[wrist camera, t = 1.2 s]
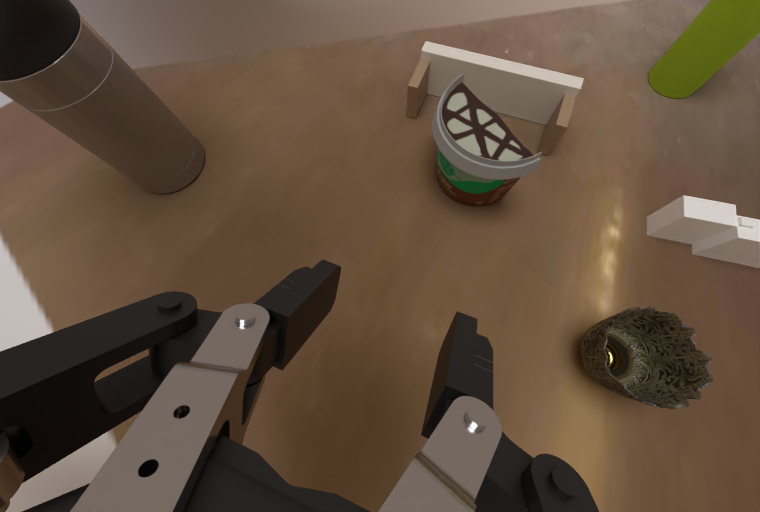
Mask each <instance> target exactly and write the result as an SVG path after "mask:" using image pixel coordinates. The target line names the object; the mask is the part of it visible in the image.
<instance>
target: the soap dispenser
mask: <svg viewBox="0 0 760 512" xmlns="http://www.w3.org/2000/svg"><path fill="white" fill-rule="evenodd" d="M759 33H760V0H711V1H710V2H709V3H708V4H707V6H706V7H705V8H704V9H703V10H702V11H701V13H700V14H699V15H698V16H697V17H696V18H695V20H694V21H693V22H692V23H691V24H690V25H689V27H688V28H687V29H686V30H685V31H684V32H683V33H682V35H681V36H680V37H679V38H678V39H677V40H676V42H675V43H674V44H673V45H672V46H671V47H670V49H669V50H668V51H667V52H666V53H665V54H664V55H663V57H662V58H661V59H660V60H659V61H658V62H657V64H656V65H655V66H654V67H653V68H652V69H651V71H650V72H649V75H648V80H649V83H650V85H651V86H652V88H653V89H654V90H655V91H657V92H658V93H660V94H661V95H664V96H666V97H670V98H685V97H688V96H690V95H692V94H693V93H694V92H695V91H696V90H697V89H698V88H699V87H701V86H702V85H703V84H704V83H705V82H706V81H707V80H708V79H709V78H710V77H712V76H713V75H714V74H715V73H716V72H717V71H718V70H719V69H720V68H721V67H723V66H724V65H725V64H726V63H727V62H728V61H729V60H730V59H731V58H732V57H733V56H735V55H736V54H737V53H738V52H739V51H740V50H741V49H742V48H743V47H744V46H746V45H747V44H748V43H749V42H750V41H751V40H752V39H753V38H754V37H755V36H756V35H758V34H759Z"/></svg>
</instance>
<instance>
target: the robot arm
mask: <svg viewBox="0 0 760 512" xmlns="http://www.w3.org/2000/svg"><path fill="white" fill-rule="evenodd" d="M0 91H1V92H2V93H4V94H5V95H7V96H8V97H9V98H11V99H12V100H14V101H15V102H17V103H18V104H20V105H22V106H23V107H25V108H26V109H28V110H29V111H31V112H32V113H34V114H35V115H36V116H38V117H39V118H41V119H42V120H44V121H45V122H47V123H48V124H50V125H51V126H53V127H54V128H56V129H57V130H59V131H60V132H62V133H63V134H65V135H66V136H68V137H69V138H71V139H72V140H74V141H75V142H77V143H78V144H80V145H81V146H82V147H84V148H85V149H87V150H88V151H90V152H91V153H93V154H94V155H96V156H97V157H99V158H100V159H102V160H103V161H105V162H106V163H108V164H109V165H111V166H112V167H114V168H115V169H117V170H118V171H119V172H121V173H122V174H124V175H125V176H127V177H128V178H130V179H131V180H133V181H134V182H136V183H137V184H139V185H140V186H142V187H143V188H145V189H146V190H148V191H150V192H153V193H159V194H165V193H171V192H175V191H177V190H180V189H182V188H184V187H185V186H187V185H188V184H190V183H191V182H192V181H193V180H194V179H195V178H196V177H197V175H198V174H199V173H200V171H201V169H202V167H203V163H204V156H205V154H204V150H203V147H202V145H201V144H200V143H199V142H198V140H197V139H196V138H195V137H194V136H193V135H192V134H191V133H190V132H189V131H188V129H187V128H186V127H185V126H184V125H183V124H182V123H181V122H180V120H179V119H178V118H177V117H176V116H175V115H174V114H173V113H172V112H171V111H170V110H169V108H168V107H167V106H166V105H165V104H164V103H163V102H162V101H161V100H160V99H159V98H158V97H157V95H156V94H155V93H154V92H153V91H152V90H151V89H150V88H149V87H148V86H147V85H146V83H145V82H144V81H143V80H142V79H141V78H140V77H139V76H138V75H137V74H136V73H135V71H134V70H133V69H132V68H131V67H130V66H129V65H128V64H127V63H126V62H125V61H124V60H123V58H121V56H120V55H119V54H118V53H117V52H116V51H115V50H114V49H113V48H112V46H111V45H110V44H109V43H108V42H107V41H106V40H105V39H104V38H103V37H102V36H101V35H100V34H99V33H98V31H97V30H96V29H95V28H94V27H93V26H92V25H91V24H90V23H89V22H88V21H87V19H86V18H85V17H84V16H83V15H82V14H81V13H80V12H79V11H78V10H77V9H76V8H75V7H74V5H73V4H71V2H70V1H69V0H0ZM340 273H341V267H340V266H338V265H336V264H333V263H330V262H328V261H325V260H321V261H320V262H319V263H318V264H317V265H316V266H314V267H313V268H312V269H311V268H308V267H304V268H301V269H298V270H295V271H293V272H292V273H291V274H289V275H288V276H287V277H286V279H283V280H282V281H281V282H280V283H279V284H277V285H276V286H275V287H274V288H272V289H271V290H270V291H269V292H267V293H266V294H265V295H264V296H263V297H261V298H260V299H259V300H258V301H256V302H255V303H254V304H250V303H245V304H238V305H235V306H232V307H230V308H228V309H227V310H225V311H224V312H223V313H220V312H213V311H206V310H200V309H197V301H196V299H195V298H194V297H193V296H192V295H190V294H188V293H184V292H166V293H161V294H158V295H155V296H152V297H150V298H147V299H144V300H141V301H139V302H136V303H133V304H130V305H128V306H125V307H122V308H119V309H117V310H114V311H111V312H108V313H106V314H103V315H100V316H97V317H95V318H92V319H89V320H86V321H84V322H81V323H78V324H75V325H73V326H70V327H67V328H64V329H62V330H59V331H56V332H53V333H51V334H48V335H46V336H42V337H40V338H37V339H34V340H31V341H29V342H26V343H23V344H20V345H18V346H15V347H12V348H10V349H7V350H4V351H1V352H0V512H5V511H6V510H7V508H8V507H9V504H10V499H11V498H12V497H13V495H14V494H15V493H16V491H17V490H18V489H19V487H20V486H21V484H22V483H23V482H25V481H27V480H28V479H30V478H32V477H33V476H35V475H37V474H38V473H40V472H42V471H43V470H44V469H46V468H48V467H50V466H51V465H53V464H55V463H56V462H58V461H60V460H61V459H63V458H65V457H66V456H68V455H69V454H71V453H73V452H74V451H76V450H78V449H79V448H81V447H83V446H84V445H86V444H88V443H89V442H91V441H93V440H94V439H96V438H98V437H99V436H101V435H102V434H104V433H106V432H107V431H109V430H111V429H112V428H114V427H116V426H117V425H119V424H121V423H122V422H124V421H126V420H127V419H129V418H131V417H132V416H134V415H135V414H137V413H139V412H140V411H142V412H141V413H140V414H139V416H138V417H137V419H136V420H135V421H134V423H133V424H132V426H131V427H130V429H129V430H128V431H127V433H126V434H125V436H124V437H123V438H122V440H121V441H120V443H119V444H118V445H117V447H116V448H115V450H114V451H113V452H112V454H111V455H110V457H109V458H108V459H107V461H106V462H105V464H104V465H103V467H102V468H101V469H100V471H99V472H98V473H97V475H96V476H95V478H94V479H93V481H92V482H91V483H90V484H87V485H85V486H83V487H80V488H78V489H76V490H73V491H71V492H68V493H66V494H63V495H61V496H59V497H56V498H54V499H52V500H49V501H47V502H44V503H42V504H39V505H37V506H35V507H32V508H30V509H27V510H25V511H23V512H369V511H367V510H366V509H364V508H362V507H360V506H358V505H356V504H354V503H352V502H350V501H348V500H346V499H344V498H343V497H341V496H339V495H337V494H333V493H328V492H322V491H317V490H312V489H306V488H301V487H295V486H291V485H289V484H288V483H287V482H286V481H285V480H284V479H283V478H282V477H281V476H280V475H279V474H278V473H277V472H276V471H275V470H274V469H273V468H272V467H271V466H270V465H269V464H268V463H267V462H266V461H265V460H264V459H263V458H262V457H261V456H260V455H259V454H258V453H256V452H254V451H252V450H250V449H249V448H247V447H245V446H243V445H242V442H243V438H244V435H245V432H246V429H247V426H248V424H249V421H250V418H251V416H252V413H253V410H254V408H255V405H256V402H257V400H258V397H259V394H260V392H261V389H262V387H263V384H264V381H265V374H266V373H267V372H268V371H269V370H270V368H271V367H272V366H274V367H276V368H278V369H280V370H283V369H284V368H285V367H286V365H287V364H288V363H289V362H290V360H291V359H292V358H293V357H294V355H295V354H296V353H297V352H298V350H299V349H300V348H301V347H302V345H303V344H304V343H305V342H306V340H307V339H308V338H309V337H310V335H311V334H312V333H313V332H314V331H315V329H316V328H317V327H318V326H319V324H320V323H321V322H322V321H323V319H324V318H325V317H326V316H327V314H328V313H329V312H330V310H331V308H332V306H333V304H334V301H335V298H336V293H337V288H338V283H339V278H340ZM476 332H477V319H476V318H473V317H471V316H468V315H466V314H463V313H460V312H457V313H456V315H455V317H454V319H453V321H452V323H451V326H450V328H449V330H448V332H447V335H446V337H445V339H444V341H443V344H442V347H441V349H440V352H439V356H438V360H437V365H436V369H435V374H434V378H433V383H432V387H431V392H430V396H429V401H428V406H427V410H426V415H425V419H424V424H423V428H422V433H421V435H422V436H424V437H426V438H428V441H427V442H426V444H425V445H424V447H423V448H422V450H421V451H420V453H419V454H417V455H416V456H415V457H414V459H413V460H412V462H411V463H410V465H409V466H408V468H407V469H406V471H405V472H404V474H403V475H402V477H401V478H400V480H399V481H398V483H397V484H396V486H395V487H394V489H393V490H392V492H391V493H390V495H389V496H388V498H387V499H386V501H385V502H384V504H383V505H382V507H381V508H380V510H379V511H378V512H599V510H598V508H597V506H596V504H595V502H594V500H593V497H592V495H591V493H590V491H589V489H588V487H587V485H586V484H585V482H584V480H583V479H582V478H581V476H580V475H579V474H578V473H577V472H576V471H575V470H574V469H573V468H572V467H571V466H570V465H569V464H568V463H566V462H565V461H563V460H562V459H560V458H558V457H556V456H553V455H550V454H540V455H537V456H536V457H535V458H533V457H531V456H530V455H529V454H527V453H526V452H525V451H523V450H522V449H521V448H519V447H518V446H517V445H516V444H514V443H513V442H512V441H511V440H510V439H509V438H508V437H507V436H506V435H505V434H504V433H503V432H502V427H501V423H500V421H499V419H498V417H497V415H496V414H495V412H494V411H493V373H492V372H493V349H492V347H491V345H490V342H489V340H488V338H487V337H484V336H482V335H479V334H476ZM146 349H148V350H149V355H148V356H146V357H144V358H142V359H140V360H138V361H136V362H134V363H132V364H130V365H128V366H126V367H124V368H122V369H120V370H118V371H116V372H114V373H112V374H110V375H108V376H106V377H104V378H102V379H100V380H98V381H95V382H94V380H95V378H96V377H97V376H98V375H99V374H100V373H101V372H102V371H104V370H105V369H107V368H109V367H111V366H113V365H115V364H117V363H119V362H121V361H123V360H125V359H127V358H130V357H132V356H134V355H136V354H138V353H140V352H142V351H144V350H146Z"/></svg>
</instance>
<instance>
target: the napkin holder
mask: <svg viewBox="0 0 760 512" xmlns="http://www.w3.org/2000/svg"><path fill="white" fill-rule="evenodd" d="M647 236H652V237H657V238H662V239H667V240H672V241H677V242H682V243H687V244H692V254H694V255H698V256H703V257H708V258H713V259H718V260H723V261H727V262H732V263H737V264H742V265H747V266H751V267H756V268H760V220H758V219H753V218H748V217H742V216H737V215H736V205H733V204H728V203H722V202H717V201H712V200H706V199H701V198H695V197H690V196H685V195H683V196H682V197H680V198H678V199H677V200H675V201H673V202H671V203H670V204H668V205H666V206H665V207H663V208H661V209H659V210H658V211H656V212H654V213H653V214H651V215H649V216H647Z"/></svg>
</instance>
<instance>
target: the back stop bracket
mask: <svg viewBox="0 0 760 512" xmlns="http://www.w3.org/2000/svg"><path fill="white" fill-rule="evenodd" d="M463 73H465V74H464V82H463V83H464V84H465V85H466V87H467V88H468V89H469V90H470V91H471V92H472V93H473V94H474V95H475V96H476V97H477V98H478V99H479V100H480V101H481V102H482V103H484V104H485V105H486V106H487V107H489V108H490V109H491V110H492V111H494V112H498V113H502V114H506V115H509V116H513V117H517V118H521V119H525V120H528V121H532V122H536V123H540V124H543V125H546V126H545V129H544V132H543V135H542V139H541V142H540V145H539V149H538V152H537V153H540V152H542V153H541V154H542V155H546V156H547V155H548V154H549V152H550V151H551V150H552V148H553V147H554V145H555V144H556V143H557V141H558V140H559V138H560V137H561V136H562V134H563V133H564V131H565V130H566V129H567V127H568V123H569V120H570V116H571V113H572V109H573V105H574V102H575V98H576V96H577V94H578V93H579V91H580V90H581V87H582V83H583V79H584V78H580V77H576V76H571V75H567V74H563V73H559V72H554V71H550V70H546V69H542V68H537V67H533V66H529V65H525V64H520V63H516V62H512V61H508V60H503V59H499V58H495V57H491V56H486V55H482V54H478V53H474V52H469V51H465V50H461V49H457V48H452V47H448V46H444V45H440V44H435V43H431V42H427V41H426V42H425V44H424V46H423V48H422V51H421V59H420V61H419V63H418V65H417V68H416V70H415V72H414V74H413V76H412V78H411V80H410V82H409V84H408V100H407V117H411V118H414V119H416V117H417V114H418V112H419V110H420V108H421V106H422V103H423V101H424V99H425V97H426V95H427V94H430V95H434V96H438V97H442V95H443V93H444V92H445V91H446V89H447V88H448V87H449V85H450V84H451V83H452V82H453V81H454V80H455V79H456V78H457V77H459V76H460V75H462V74H463Z"/></svg>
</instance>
